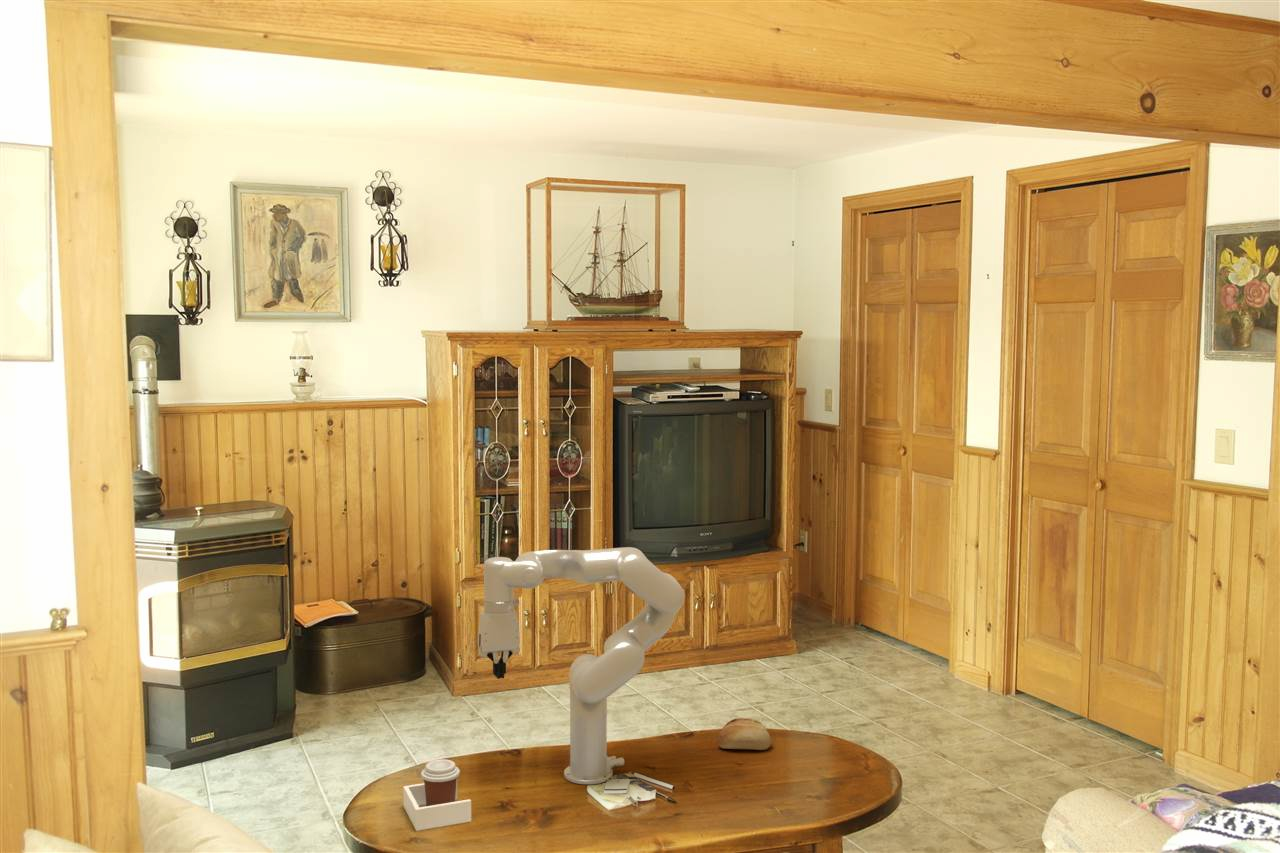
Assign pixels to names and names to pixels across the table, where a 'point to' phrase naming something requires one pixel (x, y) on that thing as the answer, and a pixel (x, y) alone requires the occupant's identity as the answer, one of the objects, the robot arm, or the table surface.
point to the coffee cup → (440, 781)
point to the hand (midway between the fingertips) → (499, 676)
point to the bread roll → (744, 735)
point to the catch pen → (433, 809)
